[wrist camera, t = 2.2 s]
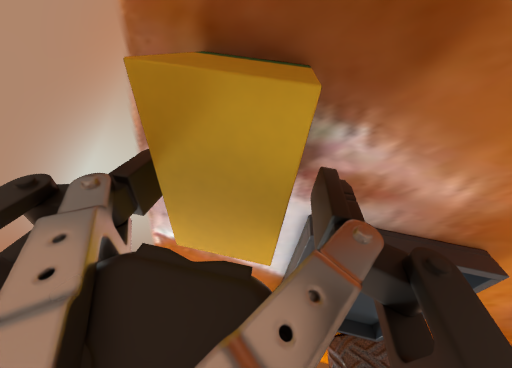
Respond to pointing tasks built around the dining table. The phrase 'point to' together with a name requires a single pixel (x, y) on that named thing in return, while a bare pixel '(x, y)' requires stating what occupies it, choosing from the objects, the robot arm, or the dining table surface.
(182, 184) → the sponge
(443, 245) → the tray
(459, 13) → the dining table surface
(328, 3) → the dining table surface
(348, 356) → the vase
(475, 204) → the dining table surface
